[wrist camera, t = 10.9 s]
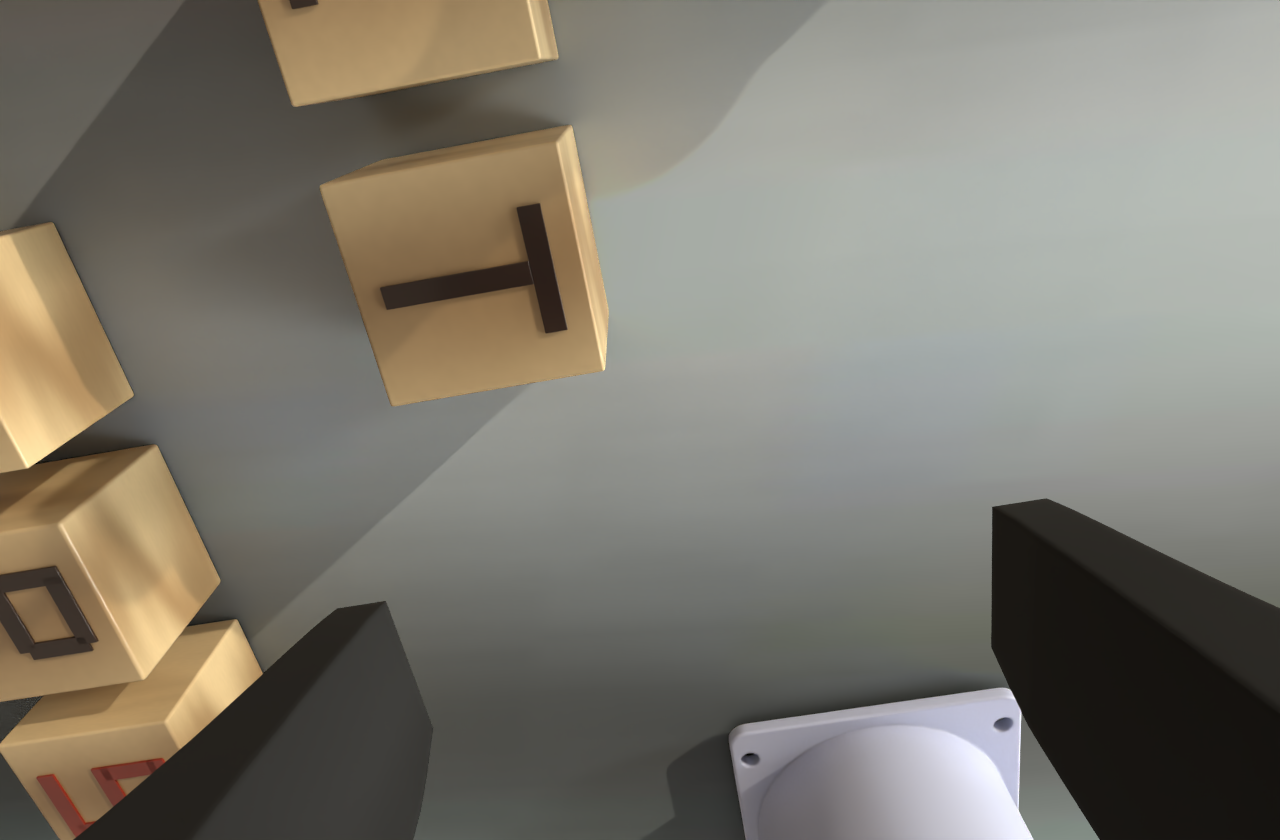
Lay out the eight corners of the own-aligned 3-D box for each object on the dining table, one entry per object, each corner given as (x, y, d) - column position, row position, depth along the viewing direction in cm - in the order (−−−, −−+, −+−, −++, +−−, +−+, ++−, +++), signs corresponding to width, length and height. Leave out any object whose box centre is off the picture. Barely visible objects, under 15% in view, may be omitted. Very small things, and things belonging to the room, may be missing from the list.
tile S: (291, 731, 23) (233, 847, 19) (155, 750, 23) (75, 869, 19) (237, 617, 21) (164, 723, 18) (92, 640, 21) (-7, 748, 18)
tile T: (609, 313, 18) (605, 372, 14) (433, 344, 18) (390, 409, 15) (572, 124, 16) (558, 140, 13) (379, 160, 16) (316, 186, 13)
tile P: (223, 581, 20) (144, 683, 17) (74, 605, 21) (-32, 709, 17) (157, 442, 19) (57, 524, 16) (-3, 469, 19) (-137, 556, 16)
